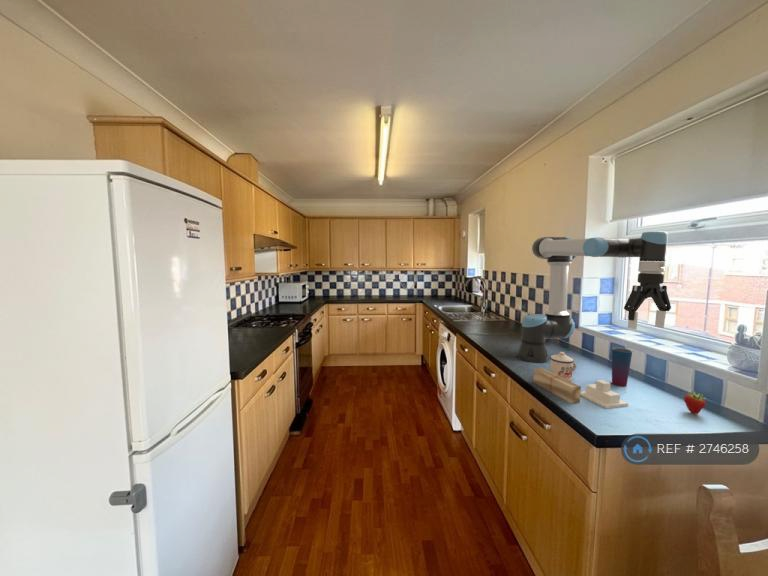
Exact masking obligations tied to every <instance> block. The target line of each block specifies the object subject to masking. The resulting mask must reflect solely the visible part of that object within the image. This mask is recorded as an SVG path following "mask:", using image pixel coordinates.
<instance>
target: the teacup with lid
mask: <svg viewBox="0 0 768 576" xmlns="http://www.w3.org/2000/svg"><path fill="white" fill-rule="evenodd" d="M549 365H550V366H549V372H552V373H554V374H556V375H558V376H560V377H562V378H564V379H566V380H568V381H570V382H571V381H572V379H573V372H575V370H576V369H577V363H576V362H575V361H574V359H573V358H572V357H570V356H568V355H566V353H565V352H563V351H560V352H559V353H558V354H552V355H550V364H549Z"/></svg>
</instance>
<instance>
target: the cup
mask: <svg viewBox="0 0 768 576" xmlns="http://www.w3.org/2000/svg"><path fill="white" fill-rule="evenodd" d="M611 350H612V351H611V384H612V385H614V386H617V387H621V388H623V387H627V386H628V379H629V373H630V369H631V362H632V356H633V350H631V349H629V348H624V347H612V349H611Z"/></svg>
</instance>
